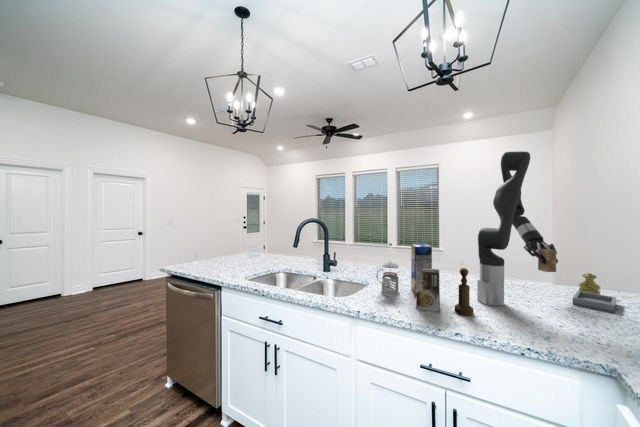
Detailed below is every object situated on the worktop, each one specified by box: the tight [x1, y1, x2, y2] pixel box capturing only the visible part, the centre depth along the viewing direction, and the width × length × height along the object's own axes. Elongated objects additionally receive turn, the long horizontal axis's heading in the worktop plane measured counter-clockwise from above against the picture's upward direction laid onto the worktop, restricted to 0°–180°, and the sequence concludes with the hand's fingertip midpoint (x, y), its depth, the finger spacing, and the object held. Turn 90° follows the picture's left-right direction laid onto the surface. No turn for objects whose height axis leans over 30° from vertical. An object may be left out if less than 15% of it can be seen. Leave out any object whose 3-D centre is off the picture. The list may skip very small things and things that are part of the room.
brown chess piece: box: [454, 267, 474, 317], centre depth 106 cm, size 7×6×18 cm
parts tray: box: [572, 290, 617, 314], centre depth 115 cm, size 15×12×3 cm
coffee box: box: [415, 268, 441, 312], centre depth 111 cm, size 9×6×16 cm
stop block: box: [537, 249, 557, 273], centre depth 123 cm, size 4×4×10 cm
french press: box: [375, 242, 401, 297], centre depth 131 cm, size 10×12×25 cm
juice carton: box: [410, 243, 433, 298], centre depth 130 cm, size 12×8×24 cm, turn 169°
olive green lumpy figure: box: [578, 272, 601, 295], centre depth 129 cm, size 7×7×10 cm
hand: (550, 262), depth 121 cm, fingers closed on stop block, 4 cm apart
